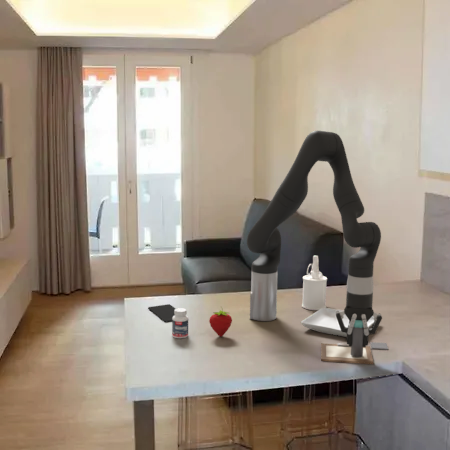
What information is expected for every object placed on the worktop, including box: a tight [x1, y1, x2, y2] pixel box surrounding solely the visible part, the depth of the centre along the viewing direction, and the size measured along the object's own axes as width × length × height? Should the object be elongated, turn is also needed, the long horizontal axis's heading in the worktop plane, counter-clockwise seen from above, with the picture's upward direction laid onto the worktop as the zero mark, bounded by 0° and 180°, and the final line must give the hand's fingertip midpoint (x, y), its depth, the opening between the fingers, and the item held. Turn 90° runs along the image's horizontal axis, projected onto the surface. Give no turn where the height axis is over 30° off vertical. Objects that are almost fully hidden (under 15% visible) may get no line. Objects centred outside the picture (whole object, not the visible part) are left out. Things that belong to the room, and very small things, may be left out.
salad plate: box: [300, 307, 375, 338], centre depth 205 cm, size 21×21×3 cm
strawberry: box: [208, 306, 233, 337], centre depth 195 cm, size 6×8×10 cm
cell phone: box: [147, 304, 177, 323], centre depth 219 cm, size 9×18×1 cm, turn 27°
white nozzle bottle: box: [301, 255, 328, 311], centre depth 228 cm, size 10×9×20 cm
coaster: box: [370, 341, 389, 351], centre depth 188 cm, size 5×5×1 cm
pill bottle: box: [171, 307, 189, 339], centre depth 195 cm, size 5×5×9 cm
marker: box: [351, 320, 364, 357], centre depth 178 cm, size 4×4×11 cm
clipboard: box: [320, 342, 374, 365], centre depth 182 cm, size 15×13×1 cm
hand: (357, 345), depth 178 cm, fingers closed on marker, 3 cm apart
